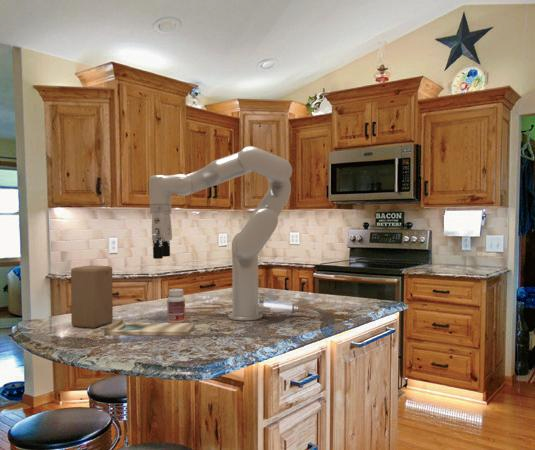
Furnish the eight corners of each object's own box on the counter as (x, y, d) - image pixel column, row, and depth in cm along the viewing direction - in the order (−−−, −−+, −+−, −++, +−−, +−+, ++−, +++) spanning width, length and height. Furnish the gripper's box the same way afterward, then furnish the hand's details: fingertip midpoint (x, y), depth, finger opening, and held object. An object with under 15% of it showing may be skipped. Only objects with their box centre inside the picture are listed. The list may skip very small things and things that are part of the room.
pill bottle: (187, 322, 161) (187, 290, 161) (171, 324, 157) (171, 291, 157) (181, 319, 166) (180, 287, 166) (164, 321, 163) (164, 289, 163)
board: (194, 326, 153) (194, 319, 153) (187, 335, 141) (187, 327, 141) (118, 326, 154) (117, 319, 154) (104, 335, 142) (104, 327, 142)
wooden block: (113, 322, 161) (113, 265, 161) (94, 328, 151) (94, 268, 151) (90, 320, 164) (90, 265, 164) (70, 326, 154) (69, 267, 154)
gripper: (164, 208, 155) (165, 259, 155) (177, 210, 172) (178, 255, 172) (142, 209, 155) (143, 259, 155) (157, 210, 172) (158, 255, 173)
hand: (161, 257), depth 164 cm, fingers open, 9 cm apart
